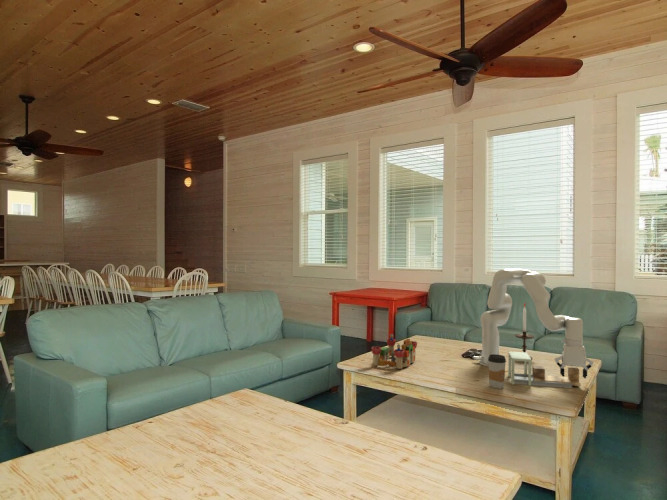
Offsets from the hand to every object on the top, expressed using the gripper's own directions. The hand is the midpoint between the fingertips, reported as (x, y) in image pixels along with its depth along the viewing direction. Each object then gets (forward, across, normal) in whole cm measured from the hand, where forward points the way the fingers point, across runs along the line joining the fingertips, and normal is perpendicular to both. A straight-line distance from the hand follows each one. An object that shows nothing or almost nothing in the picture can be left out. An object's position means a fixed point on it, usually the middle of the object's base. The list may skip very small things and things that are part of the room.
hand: (573, 376), depth 214 cm
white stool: (+4, -25, 0) cm, 25 cm away
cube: (+2, -16, 0) cm, 16 cm away
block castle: (+5, -92, +19) cm, 94 cm away
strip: (+3, -8, 0) cm, 9 cm away
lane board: (+4, -15, 0) cm, 16 cm away
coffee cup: (+4, -37, -13) cm, 39 cm away
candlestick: (+4, -16, +49) cm, 52 cm away
